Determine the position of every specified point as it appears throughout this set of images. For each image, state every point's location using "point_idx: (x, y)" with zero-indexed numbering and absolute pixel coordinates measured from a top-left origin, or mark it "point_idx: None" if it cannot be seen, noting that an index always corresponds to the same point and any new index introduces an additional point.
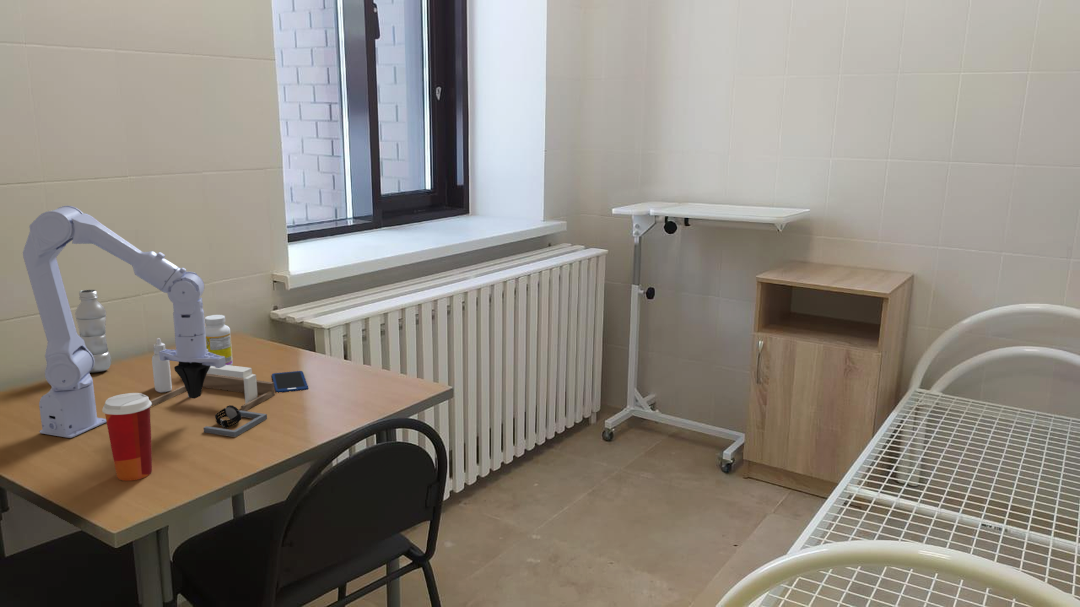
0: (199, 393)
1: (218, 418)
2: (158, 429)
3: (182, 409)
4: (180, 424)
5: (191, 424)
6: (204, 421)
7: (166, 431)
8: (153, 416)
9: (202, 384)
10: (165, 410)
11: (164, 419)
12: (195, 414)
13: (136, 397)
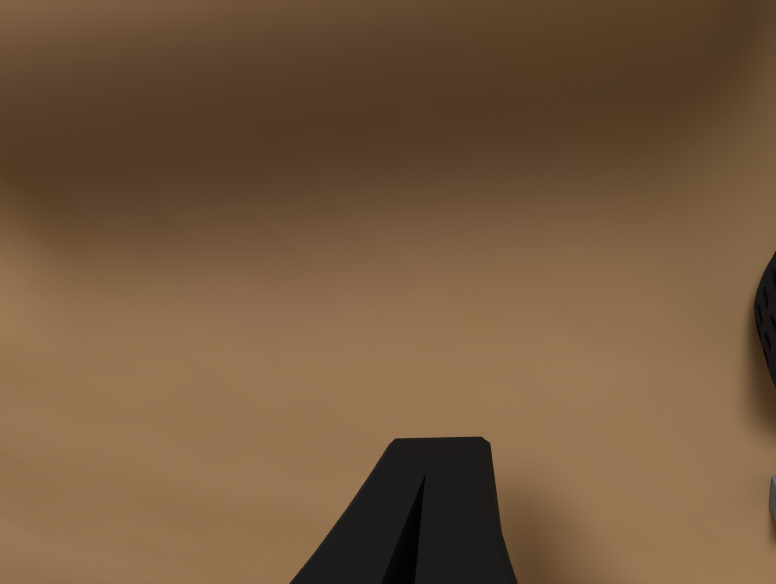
0: (494, 500)
1: (758, 303)
2: None
3: (101, 162)
4: None
5: (514, 409)
6: (575, 316)
7: None
8: (73, 386)
9: (509, 569)
10: (8, 250)
11: (207, 403)
12: (335, 212)
13: None
